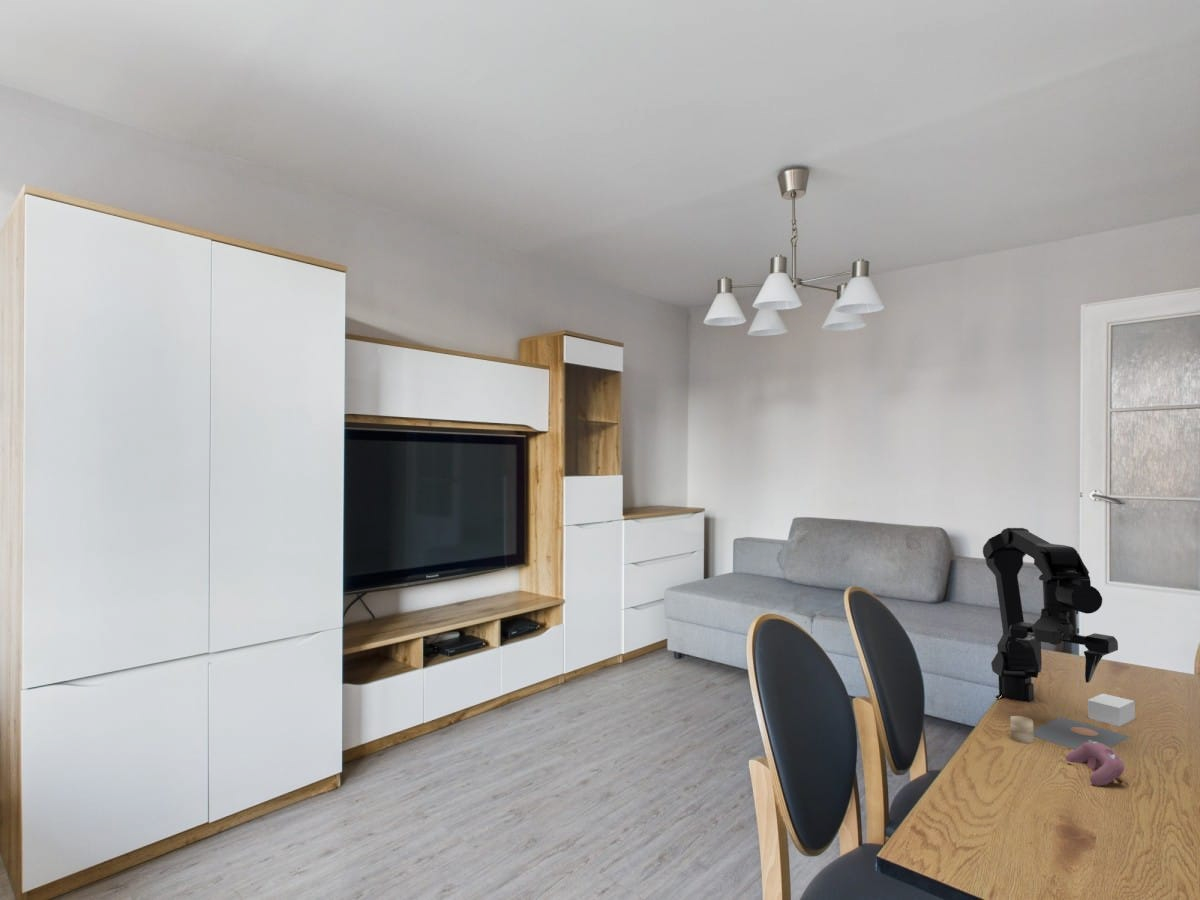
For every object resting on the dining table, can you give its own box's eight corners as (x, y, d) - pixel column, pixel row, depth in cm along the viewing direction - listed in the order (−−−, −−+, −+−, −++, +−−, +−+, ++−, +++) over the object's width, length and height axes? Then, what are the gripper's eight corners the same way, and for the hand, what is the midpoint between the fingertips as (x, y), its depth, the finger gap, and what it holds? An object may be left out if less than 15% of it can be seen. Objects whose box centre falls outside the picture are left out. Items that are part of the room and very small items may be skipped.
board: (1023, 737, 138) (1023, 733, 138) (1061, 720, 147) (1061, 716, 147) (1094, 759, 127) (1094, 755, 127) (1131, 740, 136) (1130, 736, 136)
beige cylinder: (1007, 742, 136) (1006, 718, 136) (1017, 738, 138) (1016, 714, 138) (1028, 749, 132) (1027, 724, 133) (1037, 744, 134) (1036, 720, 135)
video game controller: (1116, 797, 116) (1134, 763, 115) (1090, 784, 116) (1108, 750, 116) (1085, 772, 125) (1102, 740, 125) (1061, 760, 126) (1078, 728, 126)
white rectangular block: (1088, 722, 146) (1087, 700, 147) (1103, 715, 151) (1102, 693, 151) (1120, 731, 141) (1119, 708, 142) (1135, 723, 146) (1134, 700, 146)
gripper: (995, 602, 144) (998, 673, 143) (1095, 615, 128) (1099, 695, 128) (1019, 596, 150) (1022, 664, 149) (1117, 609, 135) (1120, 685, 134)
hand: (1062, 676), depth 140 cm, fingers open, 9 cm apart
